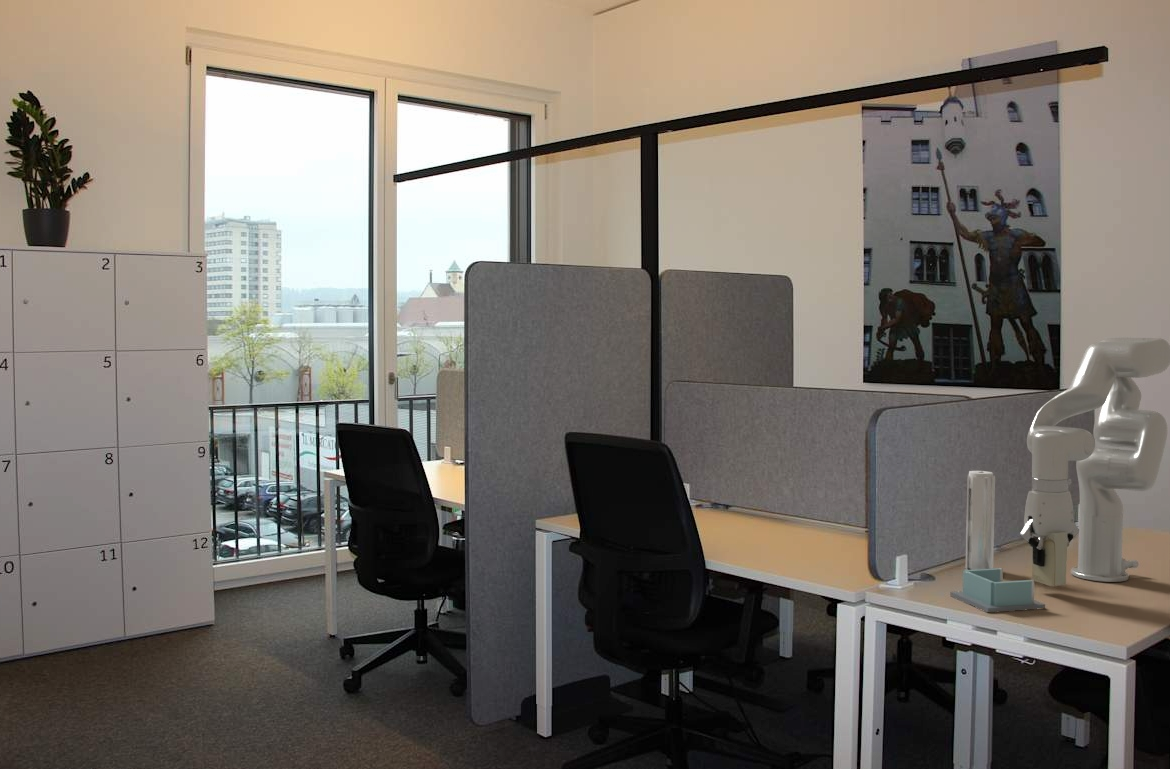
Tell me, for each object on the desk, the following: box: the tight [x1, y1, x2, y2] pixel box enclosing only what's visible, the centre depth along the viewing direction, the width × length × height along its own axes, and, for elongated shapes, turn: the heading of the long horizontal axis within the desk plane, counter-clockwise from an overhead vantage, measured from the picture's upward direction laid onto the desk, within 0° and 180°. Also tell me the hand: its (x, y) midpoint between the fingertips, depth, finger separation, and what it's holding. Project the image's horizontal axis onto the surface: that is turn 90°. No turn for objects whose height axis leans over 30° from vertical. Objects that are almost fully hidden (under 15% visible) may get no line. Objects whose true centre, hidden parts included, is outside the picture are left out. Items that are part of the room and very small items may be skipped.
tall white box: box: [965, 470, 996, 570], centre depth 251 cm, size 6×6×25 cm
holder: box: [949, 567, 1046, 613], centre depth 222 cm, size 14×14×6 cm
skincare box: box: [1031, 529, 1068, 587], centre depth 228 cm, size 6×4×12 cm
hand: (1049, 563), depth 228 cm, fingers closed on skincare box, 4 cm apart
